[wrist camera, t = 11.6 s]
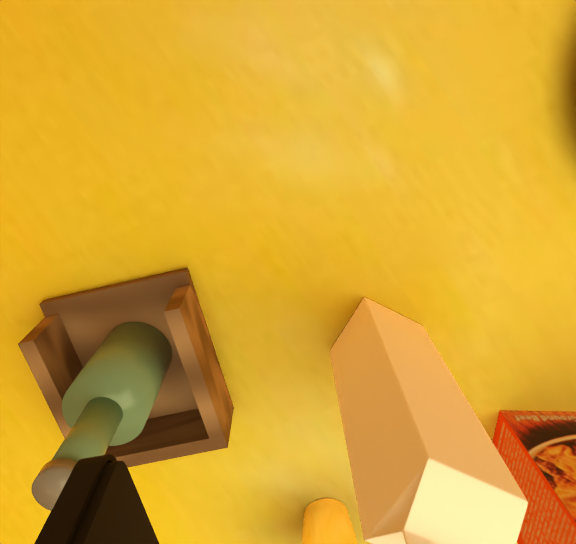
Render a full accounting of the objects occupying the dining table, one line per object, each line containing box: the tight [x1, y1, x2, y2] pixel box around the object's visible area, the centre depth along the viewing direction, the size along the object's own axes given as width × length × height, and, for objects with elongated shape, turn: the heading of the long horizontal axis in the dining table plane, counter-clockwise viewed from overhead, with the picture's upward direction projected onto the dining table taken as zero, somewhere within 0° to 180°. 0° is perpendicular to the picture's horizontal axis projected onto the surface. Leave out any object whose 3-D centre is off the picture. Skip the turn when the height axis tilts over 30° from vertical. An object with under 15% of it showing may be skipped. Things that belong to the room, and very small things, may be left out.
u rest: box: [18, 268, 234, 467], centre depth 39 cm, size 14×12×5 cm
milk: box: [330, 297, 528, 544], centre depth 31 cm, size 6×6×22 cm
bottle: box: [32, 322, 172, 511], centre depth 34 cm, size 6×6×15 cm
